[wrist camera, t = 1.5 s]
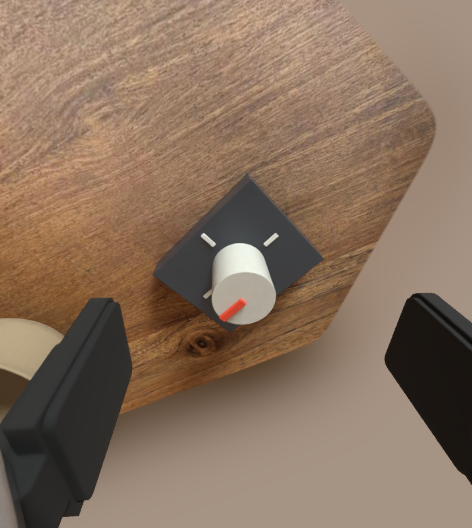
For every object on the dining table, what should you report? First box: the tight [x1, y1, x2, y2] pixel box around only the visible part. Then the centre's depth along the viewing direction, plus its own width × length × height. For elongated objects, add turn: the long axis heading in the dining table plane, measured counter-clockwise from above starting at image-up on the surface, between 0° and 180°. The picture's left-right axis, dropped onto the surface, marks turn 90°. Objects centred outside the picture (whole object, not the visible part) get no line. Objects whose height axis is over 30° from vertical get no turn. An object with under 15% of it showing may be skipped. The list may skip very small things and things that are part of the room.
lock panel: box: [153, 174, 324, 332], centre depth 26 cm, size 12×10×3 cm
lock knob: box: [212, 243, 276, 325], centre depth 23 cm, size 5×5×5 cm
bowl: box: [0, 318, 64, 423], centre depth 26 cm, size 13×13×10 cm
